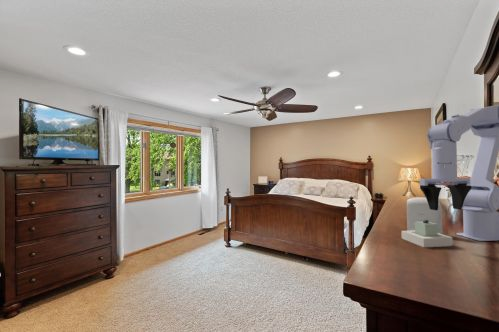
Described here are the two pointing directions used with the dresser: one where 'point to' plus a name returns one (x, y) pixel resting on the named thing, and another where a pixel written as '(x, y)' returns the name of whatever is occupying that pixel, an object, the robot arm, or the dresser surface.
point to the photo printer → (422, 213)
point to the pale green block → (426, 228)
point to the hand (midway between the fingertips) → (445, 209)
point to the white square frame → (427, 239)
